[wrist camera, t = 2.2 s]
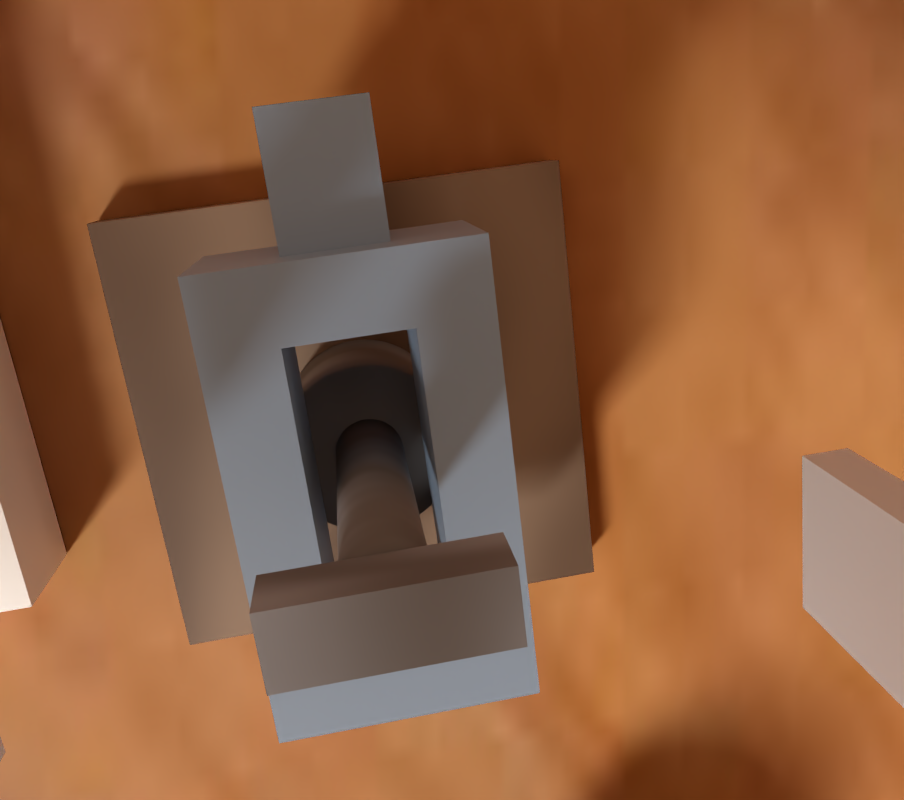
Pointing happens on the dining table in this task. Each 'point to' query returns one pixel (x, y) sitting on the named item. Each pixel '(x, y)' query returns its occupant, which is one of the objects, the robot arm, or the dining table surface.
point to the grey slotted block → (341, 317)
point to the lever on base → (362, 443)
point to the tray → (23, 501)
